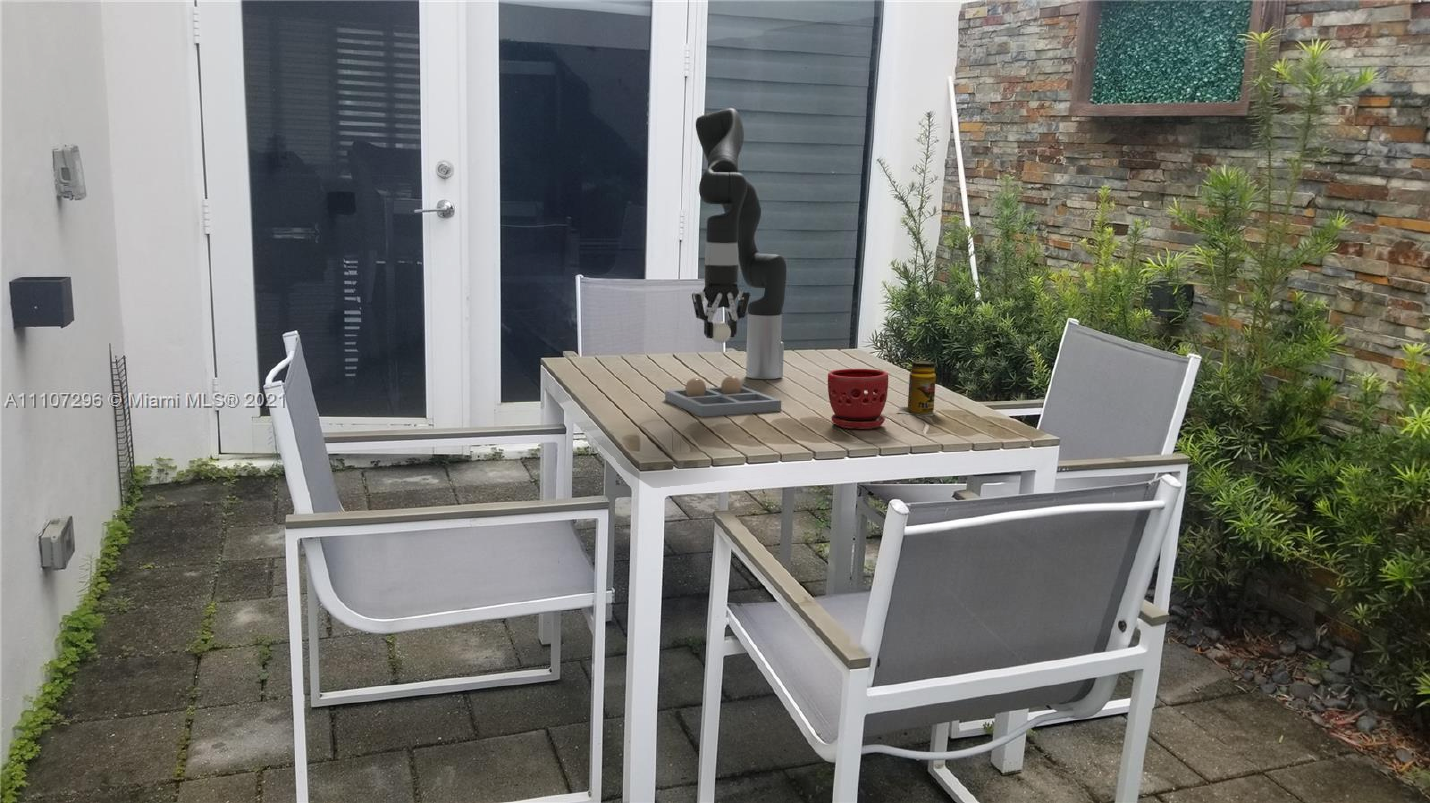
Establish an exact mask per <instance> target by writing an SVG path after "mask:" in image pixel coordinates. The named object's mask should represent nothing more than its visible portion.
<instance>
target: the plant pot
mask: <svg viewBox="0 0 1430 803" xmlns="http://www.w3.org/2000/svg"><path fill="white" fill-rule="evenodd" d="M888 389H889V372H887V371H884V370H880V369H873V368H872V369H871V368H844V369H837V370H836V369H835V370H831V371H829V372H828V374H827V392H828V399H829V403H830V407H831V409H832V412H833V413H834V414H832V415H831V418H830V419H831V421H832V423H833V424H835V425H836V426H838V427H840V428H844V429H847V430H871V429H877V428H878V427H881V426H882V425H883V424H884V422H885V421H886V418H885V416H884V415H882V412H883V411H884V408H885V405H886V403H887V398H888V391H889V390H888ZM852 390H854V393H853V394H851V392H852ZM843 391H844V392H843ZM865 391H867V393H866V392H865ZM842 392H843V393H842Z"/></svg>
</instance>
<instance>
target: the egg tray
mask: <svg viewBox="0 0 1430 803" xmlns="http://www.w3.org/2000/svg"><path fill="white" fill-rule="evenodd" d="M665 400H666V402H668V403H670V404H672V405H674V404H676V405H677V407H678V406H679V408H681V409H683V410H686V411H688V412H689V413H692V414H694V415H696V416H699V417H701V418H705V417H715V416H716V417H719V416H730V415H732V416H733V415H742V414H743V415H744V414H757V413H758V414H759V413H768V412H771V413H772V412H780V411H782V400H781V399H778V398H775V397H773V396H770V395H767V394H765V393H762V392H761V391H760V392H759V391H757V390H754V389H751V388H750V387H746V386H744V385H742V389H741V391H740V393H739V394H726V395H725V394H724V393H723V392H722V389H721V386H716V387H715V386H714V387H713V386H712V387H706V392H705V394H704V396H697V397H689V396H688V395H687V394H686V391H685V388H681V389H670V390H669V389H668V390H664V401H665ZM676 405H675V406H676Z"/></svg>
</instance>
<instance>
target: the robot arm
mask: <svg viewBox="0 0 1430 803" xmlns="http://www.w3.org/2000/svg"><path fill="white" fill-rule="evenodd" d="M695 130H696V135H697V138H698V140H699V144H700V146H701V148H702V150H703V153H704V156H705V158H706V161H707V169H706V170H705V171H704V172H703V175H702V176H701V179H700V181H699V187H698V193H699V197H700V198H701V200H702V201H703V202H705V203H706V204H708V205H721V206H722V208H723V211H724V213H721V214H715V215H711V216H709V217H708V218H707V221H706V245H705V253H704V288H703V290H702V291H700V292H693V293H691V299H692V303H693V307H694V314H695V317H696V319H699V320H702V321H703V334H704V336H705V337H706V338H707V339H711V338H713V324H714V322H712V321H713V319H714V317H715V316H714V315H715V314H716V313H717V312H718V311H717V310H718V309H720V308H721V309H722V308H724V309H725V310H724V311H726V314H727V316H728V319H729V320H728V319H727V324H728V325H729V327H730V329H731V336H730V338H735V335H737V329H738V328H737V327H738V326H737V323H738V320H739V319H744V318H745V316H746V314H747V320H746V321H747V323H746V324H747V326H746V327H747V331H746V332H747V333H746V358H745V360H746V363H745V364H746V366H745V376H746V378H749V379H754V380H774V379H779V378H784V357H785V356H784V355H785V354H784V353H785V352H784V350H785V343H784V342H783V341H782V321H783V318H782V317H783V308H784V304H785V299H786V298H785V296H786V282H787V264H786V261H785V258H784V257H783V256H782V255H781V254H776V253H775V254H774V253H760V252H759V250H758V248H757V245H756V240H755V234H756V231H757V229H758V226H759V224H760V220H761V216H762V208H761V203H760V201H759V198H758V194H757V191H756V189H755V187H754V185H753V184H752V183H751V182H750V180H749V179H747V178H746V177H745V176H744V174H742V173H741V172H739V160H738V159H739V156H740V153H741V151H742V146H743V143H744V139H745V131H744V125H743V122H742V119H741V117H740V114H739V112H738V110H736V109H735V108H728V107H727V108H723V109H721V110H717V111H713V112H710V113H706V114H703V115H699V116H698V117H697V118H696V120H695ZM739 267H740V271H741V275H742V278H743V280H744V282H745V284H746V285H747V286H749V287H751V288H754V289H755V288H756V289H757V288H758V289H764V292H763V296H762V297H761V298H759V299H757V300H753V301H751V302H749V301H750V296H751V294H750V292H748V291H741V290H739V287H738V282H739ZM704 298H705V299H706V301H707V303H706V305H705V308H704V304H703V302H704ZM736 299H738V303H737V307H736V304H735V300H736Z"/></svg>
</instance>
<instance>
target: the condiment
mask: <svg viewBox="0 0 1430 803" xmlns="http://www.w3.org/2000/svg"><path fill="white" fill-rule="evenodd" d="M910 368H911V369H910V370H911V371H910V373H909V379H908V395H907V396H908V397H907V406H900V408H899V409H898V410H897V412H896V413H897V414H908V415H915V416H925V417H926V416H927V417H933V416H934V415H935V414H936V412H937V409H935V397H936V396H935V395H936V394H935V393H936V381H937V380H936V379H937V378H936V376H937V375H936V373H935V371H936V370H935V368H936V364H935V362H933V361H930V360H922V359H920V360H913V361H912V363H911V367H910Z"/></svg>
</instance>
